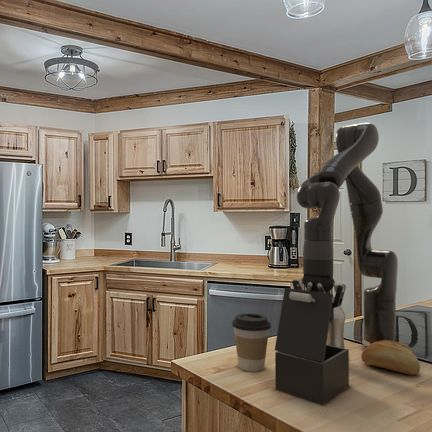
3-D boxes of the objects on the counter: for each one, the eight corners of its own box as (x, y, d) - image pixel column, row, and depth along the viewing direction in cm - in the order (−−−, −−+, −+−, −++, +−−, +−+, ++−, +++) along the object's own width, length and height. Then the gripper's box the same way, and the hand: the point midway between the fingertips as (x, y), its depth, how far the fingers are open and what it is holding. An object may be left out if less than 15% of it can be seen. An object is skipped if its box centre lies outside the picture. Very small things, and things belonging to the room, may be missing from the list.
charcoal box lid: (286, 288, 116) (276, 284, 112) (333, 294, 107) (324, 290, 103) (275, 350, 112) (266, 348, 109) (323, 362, 103) (314, 360, 100)
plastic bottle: (348, 367, 127) (348, 300, 127) (324, 366, 128) (324, 299, 128) (343, 360, 133) (342, 295, 133) (319, 358, 134) (319, 295, 134)
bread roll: (365, 359, 134) (365, 333, 134) (422, 370, 124) (422, 342, 124) (358, 367, 126) (358, 340, 126) (417, 380, 117) (417, 351, 117)
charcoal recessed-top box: (303, 373, 123) (303, 339, 123) (348, 386, 114) (348, 349, 113) (275, 389, 112) (275, 352, 112) (323, 405, 103) (323, 364, 103)
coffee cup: (278, 366, 128) (277, 316, 128) (259, 377, 120) (259, 324, 120) (244, 357, 136) (243, 310, 136) (224, 367, 127) (224, 317, 127)
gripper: (351, 257, 112) (351, 322, 112) (299, 254, 122) (299, 313, 123) (339, 260, 107) (339, 328, 107) (286, 256, 117) (286, 318, 118)
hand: (318, 320), depth 115 cm, fingers closed on coffee pod, 5 cm apart
